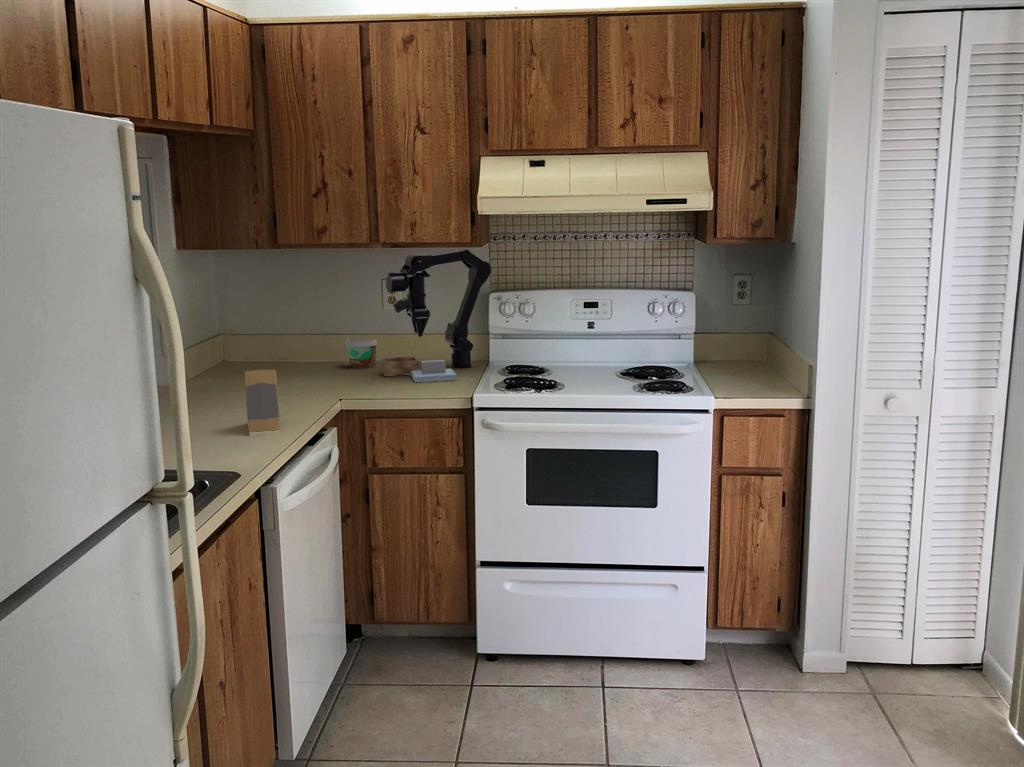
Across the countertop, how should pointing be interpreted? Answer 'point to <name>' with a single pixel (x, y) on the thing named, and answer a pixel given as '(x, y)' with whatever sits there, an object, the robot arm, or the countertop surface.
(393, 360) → the box
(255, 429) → the sandwich container
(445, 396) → the countertop surface
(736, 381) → the countertop surface
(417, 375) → the lid
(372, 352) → the food container
